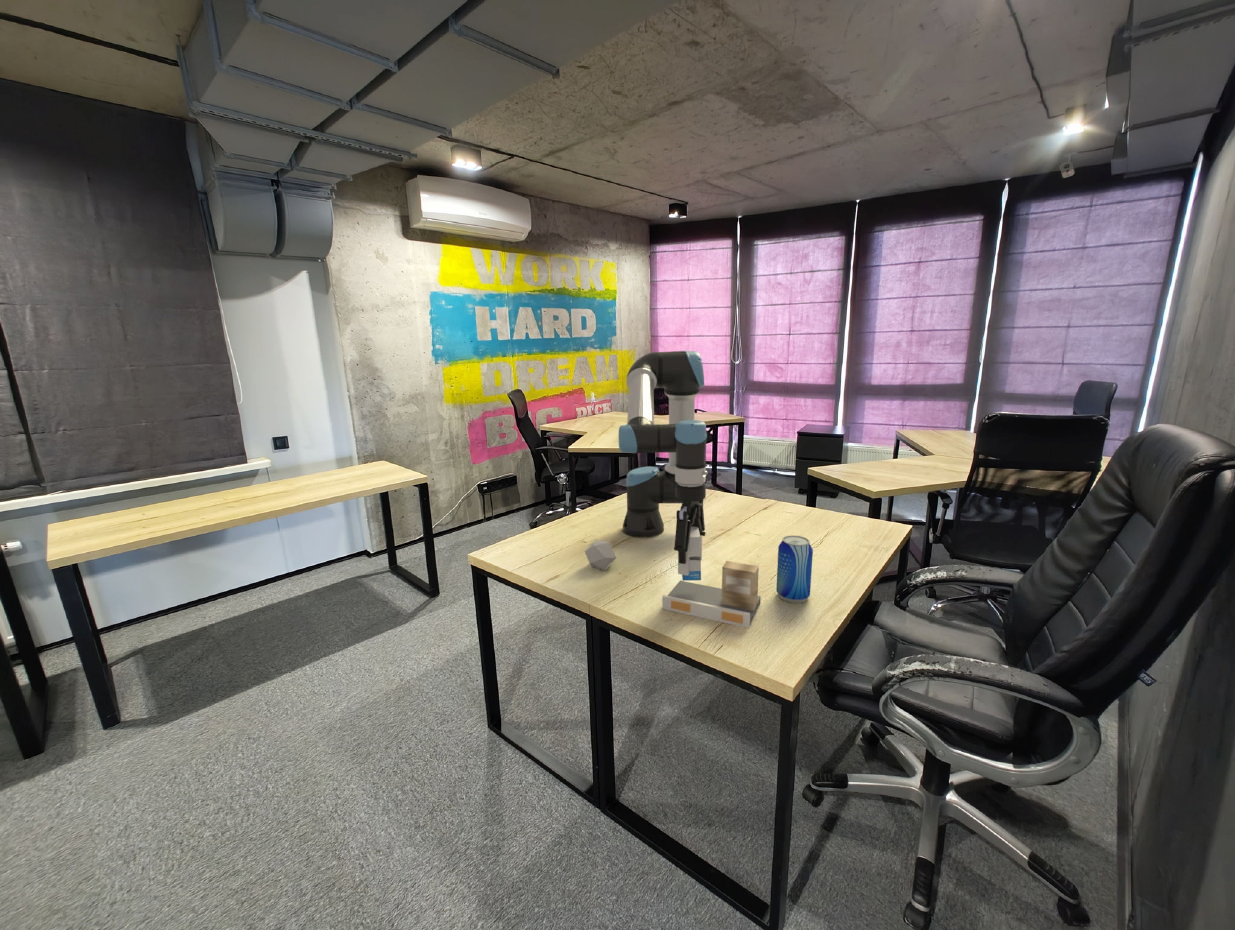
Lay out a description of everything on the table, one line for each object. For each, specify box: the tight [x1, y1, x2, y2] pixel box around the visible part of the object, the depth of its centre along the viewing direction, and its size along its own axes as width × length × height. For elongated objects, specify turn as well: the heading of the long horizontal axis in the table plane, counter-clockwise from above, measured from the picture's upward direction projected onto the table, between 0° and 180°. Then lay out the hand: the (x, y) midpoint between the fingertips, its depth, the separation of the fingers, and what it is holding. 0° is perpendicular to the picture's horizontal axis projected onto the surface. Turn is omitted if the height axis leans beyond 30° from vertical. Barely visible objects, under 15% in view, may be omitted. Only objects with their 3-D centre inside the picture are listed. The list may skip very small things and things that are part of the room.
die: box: [584, 538, 617, 571], centre depth 152 cm, size 8×9×10 cm
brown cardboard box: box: [721, 560, 760, 611], centre depth 123 cm, size 8×4×10 cm, turn 63°
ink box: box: [681, 526, 702, 582], centre depth 127 cm, size 9×5×12 cm, turn 174°
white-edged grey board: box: [661, 580, 762, 629], centre depth 127 cm, size 22×13×4 cm, turn 63°
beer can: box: [775, 534, 814, 604], centre depth 129 cm, size 8×8×16 cm
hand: (690, 566), depth 128 cm, fingers closed on ink box, 9 cm apart
